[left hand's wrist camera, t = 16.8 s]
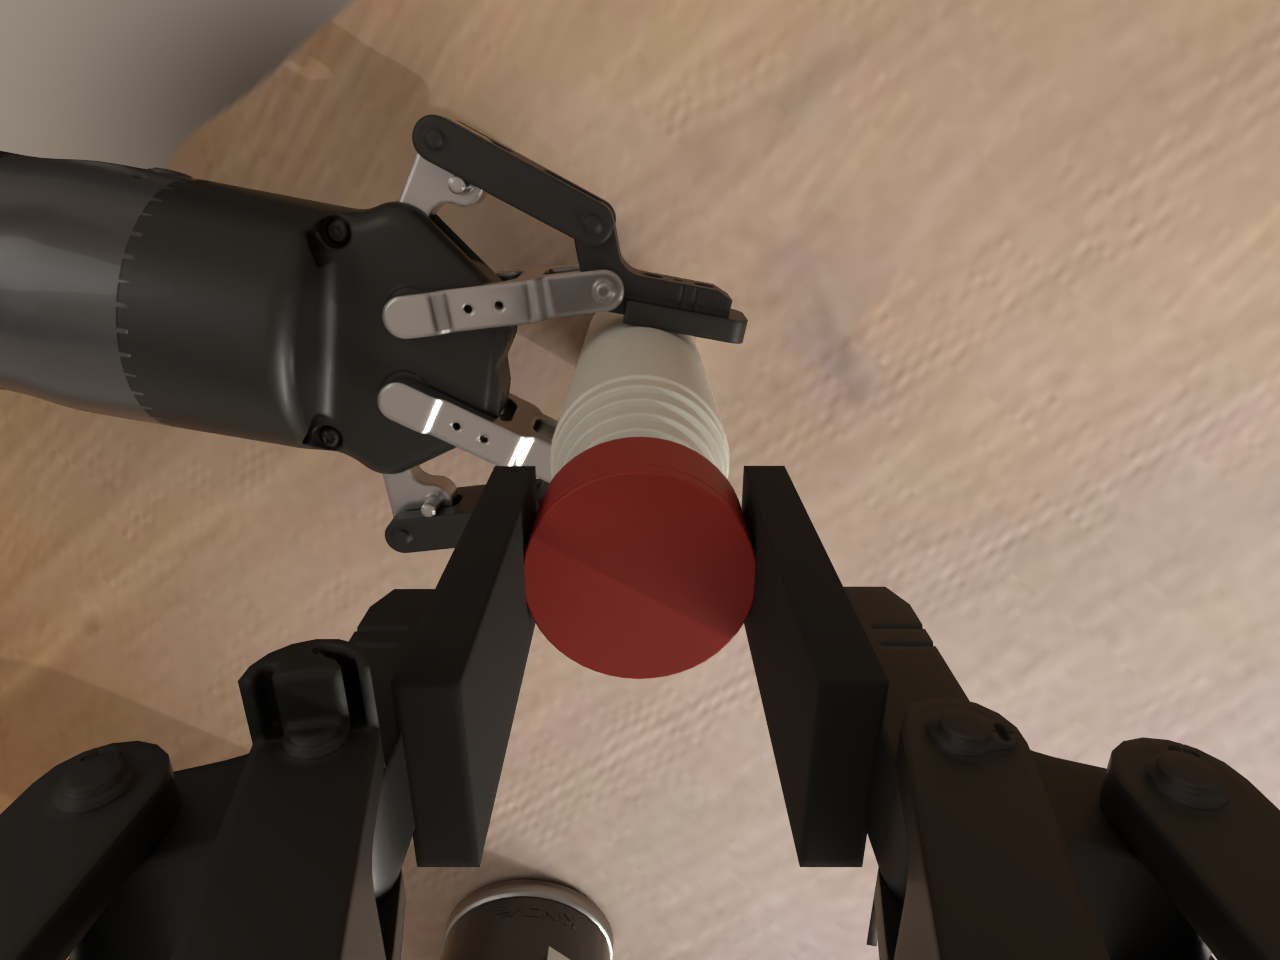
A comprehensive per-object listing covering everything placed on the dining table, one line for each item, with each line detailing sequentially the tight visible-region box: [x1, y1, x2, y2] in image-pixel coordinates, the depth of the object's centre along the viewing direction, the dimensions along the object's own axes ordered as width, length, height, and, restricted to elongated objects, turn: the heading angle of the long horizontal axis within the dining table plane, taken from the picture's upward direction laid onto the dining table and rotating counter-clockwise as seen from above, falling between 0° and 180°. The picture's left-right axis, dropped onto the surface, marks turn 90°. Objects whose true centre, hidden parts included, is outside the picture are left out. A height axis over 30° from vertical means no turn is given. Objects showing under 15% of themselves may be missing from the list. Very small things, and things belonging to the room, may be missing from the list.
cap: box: [524, 437, 756, 679], centre depth 14 cm, size 4×4×2 cm
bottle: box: [550, 312, 729, 480], centre depth 22 cm, size 4×4×19 cm
